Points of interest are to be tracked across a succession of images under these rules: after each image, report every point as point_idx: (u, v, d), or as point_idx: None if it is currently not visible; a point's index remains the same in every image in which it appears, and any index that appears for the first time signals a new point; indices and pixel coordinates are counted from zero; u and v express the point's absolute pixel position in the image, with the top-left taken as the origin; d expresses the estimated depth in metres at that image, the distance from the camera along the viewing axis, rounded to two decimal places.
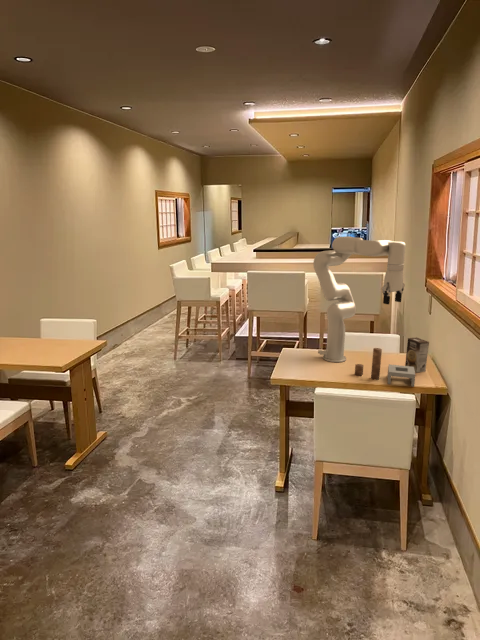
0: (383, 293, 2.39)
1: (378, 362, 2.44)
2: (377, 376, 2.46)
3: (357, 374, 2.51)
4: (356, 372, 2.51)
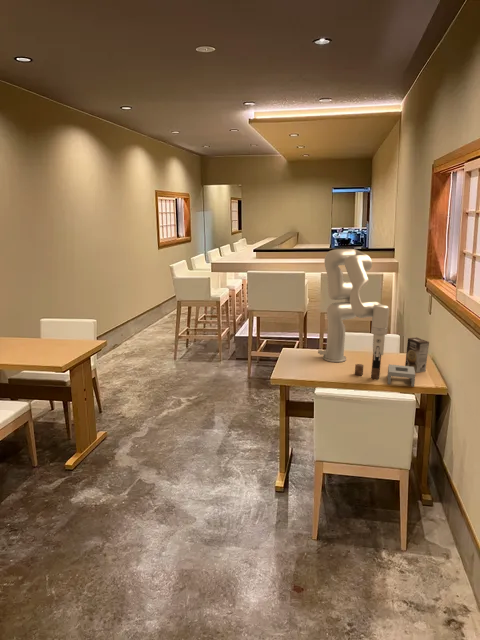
0: None
1: None
2: (377, 376, 2.46)
3: (357, 374, 2.51)
4: (356, 372, 2.51)
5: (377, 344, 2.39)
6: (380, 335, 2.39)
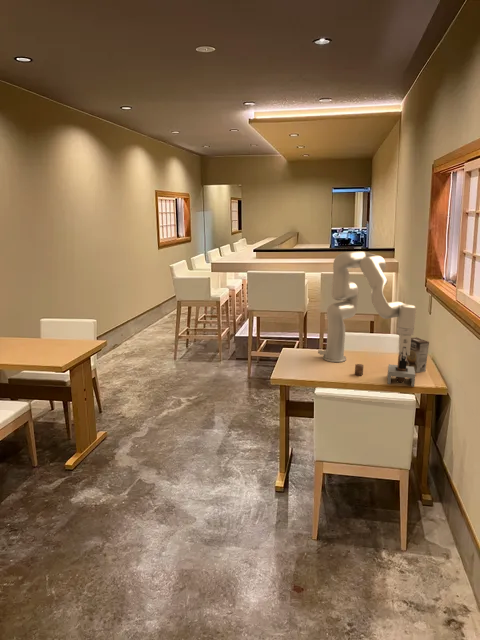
0: None
1: None
2: (403, 379, 2.43)
3: (357, 374, 2.51)
4: (356, 372, 2.51)
5: (404, 344, 2.36)
6: (407, 335, 2.35)
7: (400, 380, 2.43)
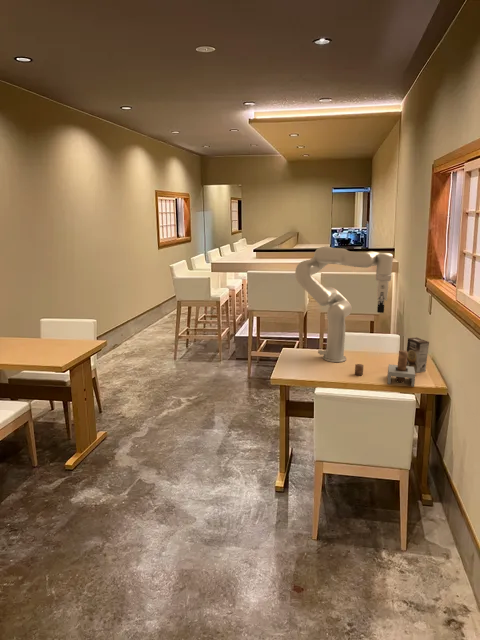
0: None
1: (404, 364, 2.41)
2: (403, 379, 2.43)
3: (357, 374, 2.51)
4: (356, 372, 2.51)
5: (381, 290, 2.52)
6: (384, 281, 2.51)
7: (400, 380, 2.43)
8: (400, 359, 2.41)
